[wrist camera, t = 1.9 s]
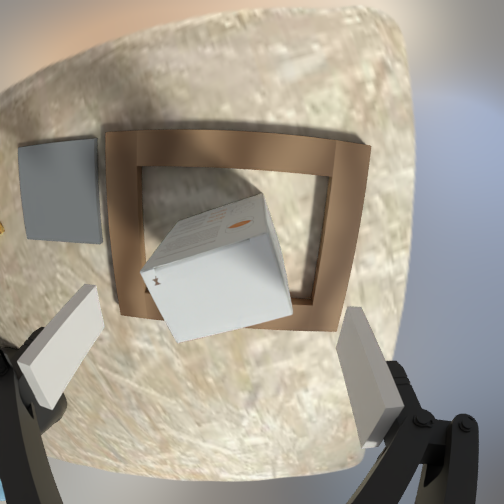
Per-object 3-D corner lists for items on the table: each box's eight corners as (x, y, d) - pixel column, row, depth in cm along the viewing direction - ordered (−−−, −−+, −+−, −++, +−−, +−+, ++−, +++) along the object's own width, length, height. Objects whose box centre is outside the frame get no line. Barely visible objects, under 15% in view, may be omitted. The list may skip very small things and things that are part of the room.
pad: (30, 237, 28) (27, 239, 27) (21, 147, 24) (17, 147, 23) (102, 242, 28) (100, 244, 27) (97, 138, 24) (94, 138, 23)
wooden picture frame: (124, 308, 31) (120, 315, 30) (111, 131, 24) (105, 132, 23) (334, 324, 31) (336, 331, 30) (366, 144, 24) (371, 145, 23)
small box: (200, 273, 29) (174, 346, 19) (177, 219, 27) (135, 272, 17) (283, 250, 28) (295, 318, 18) (264, 190, 26) (268, 232, 16)
